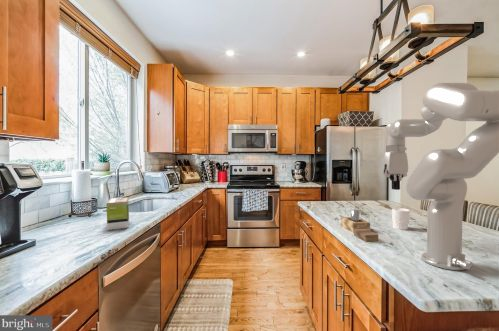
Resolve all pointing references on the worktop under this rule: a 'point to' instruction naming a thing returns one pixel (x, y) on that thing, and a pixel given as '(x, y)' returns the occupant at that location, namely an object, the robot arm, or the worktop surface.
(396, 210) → the white cup
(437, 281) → the worktop surface
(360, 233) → the walnut bar
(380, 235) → the mat
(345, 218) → the slot block
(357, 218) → the silver cylinder
